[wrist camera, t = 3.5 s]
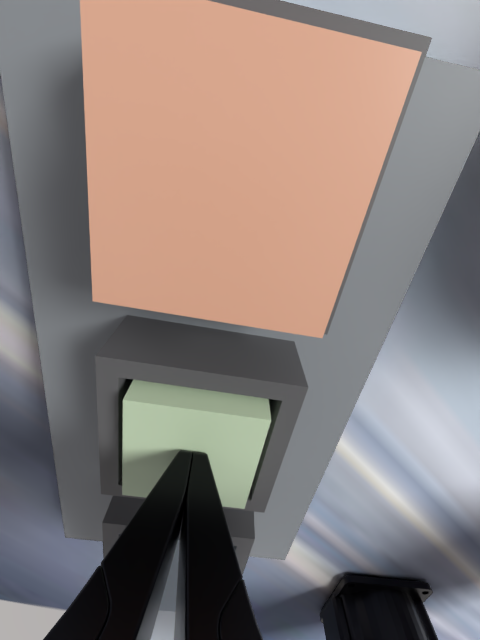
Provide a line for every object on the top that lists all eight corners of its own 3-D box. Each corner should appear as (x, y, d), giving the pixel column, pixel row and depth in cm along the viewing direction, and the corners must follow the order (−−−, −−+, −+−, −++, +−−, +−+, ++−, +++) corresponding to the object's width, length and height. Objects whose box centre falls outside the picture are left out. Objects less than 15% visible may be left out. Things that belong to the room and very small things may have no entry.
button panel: (453, 94, 9) (622, 34, 5) (280, 522, 19) (291, 619, 15) (39, -2, 8) (-158, -169, 4) (82, 500, 18) (36, 597, 14)
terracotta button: (344, 102, 6) (422, 52, 4) (295, 282, 8) (322, 338, 5) (151, 59, 6) (78, -30, 3) (144, 255, 8) (92, 301, 5)
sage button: (263, 358, 11) (271, 420, 8) (243, 437, 13) (244, 508, 10) (152, 341, 11) (122, 399, 8) (147, 424, 12) (122, 495, 10)
